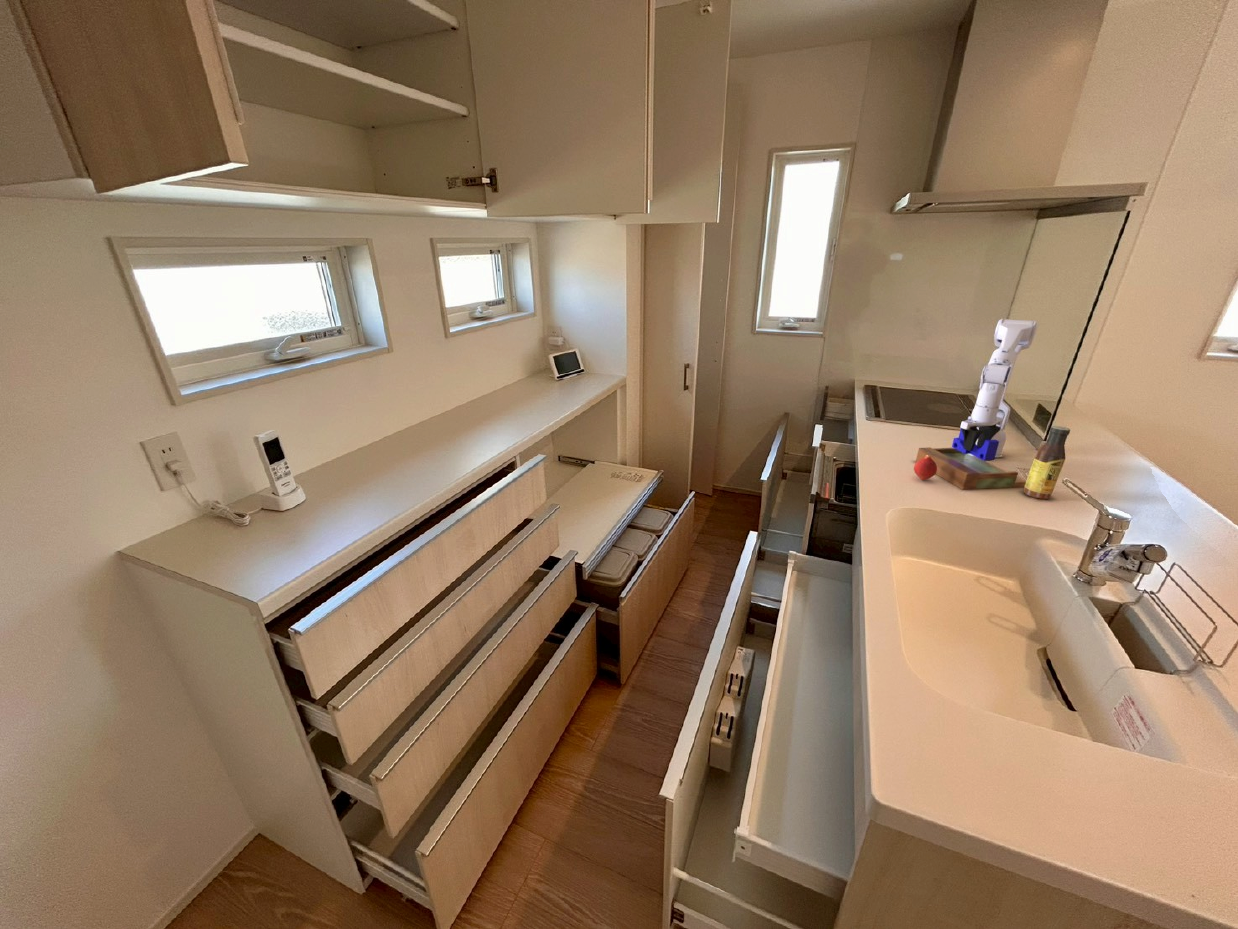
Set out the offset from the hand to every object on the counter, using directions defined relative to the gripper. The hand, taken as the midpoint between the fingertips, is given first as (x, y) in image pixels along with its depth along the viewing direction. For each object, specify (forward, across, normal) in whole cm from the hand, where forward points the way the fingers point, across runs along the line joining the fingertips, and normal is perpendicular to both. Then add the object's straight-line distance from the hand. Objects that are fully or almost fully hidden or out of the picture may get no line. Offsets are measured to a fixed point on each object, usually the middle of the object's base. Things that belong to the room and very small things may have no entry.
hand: (974, 448), depth 151 cm
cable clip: (+2, 0, 0) cm, 2 cm away
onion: (+8, +17, -1) cm, 19 cm away
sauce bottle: (+8, -4, +18) cm, 20 cm away
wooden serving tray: (+8, 0, 0) cm, 8 cm away
